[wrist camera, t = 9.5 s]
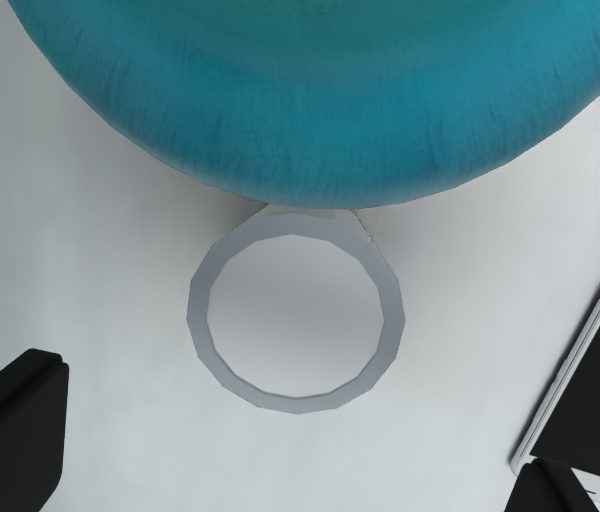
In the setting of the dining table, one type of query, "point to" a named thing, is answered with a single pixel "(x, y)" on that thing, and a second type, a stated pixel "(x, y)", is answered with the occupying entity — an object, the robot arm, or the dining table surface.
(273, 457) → the dining table surface
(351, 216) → the white cylinder
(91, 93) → the vase
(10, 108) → the dining table surface
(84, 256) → the dining table surface
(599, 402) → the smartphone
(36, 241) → the dining table surface
